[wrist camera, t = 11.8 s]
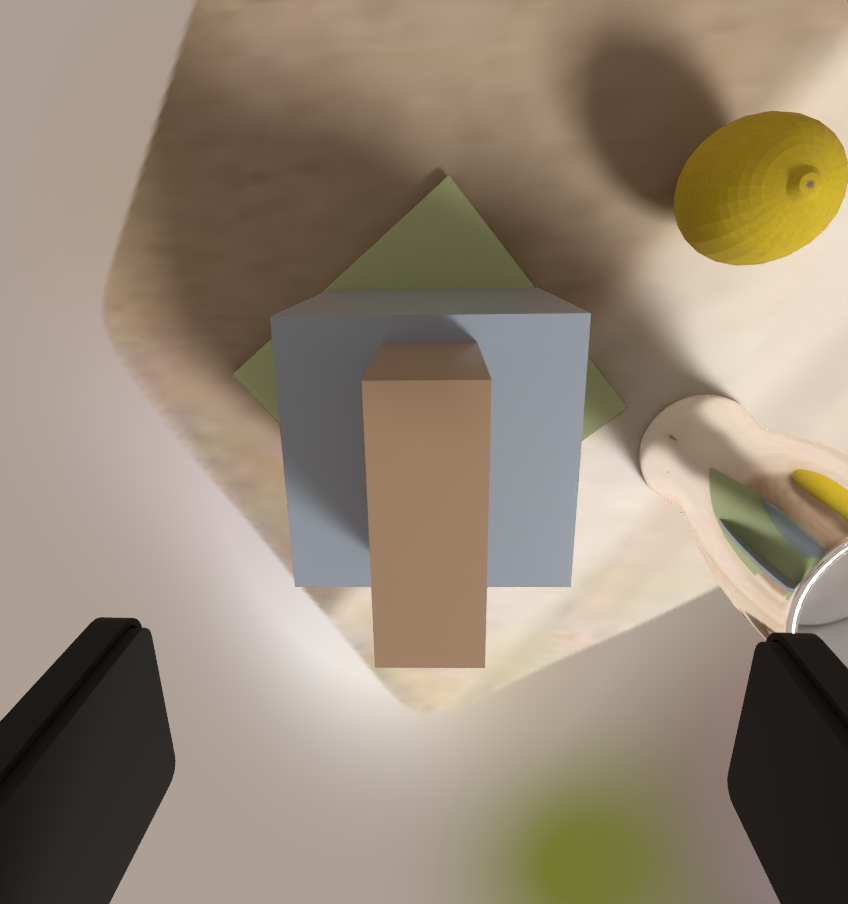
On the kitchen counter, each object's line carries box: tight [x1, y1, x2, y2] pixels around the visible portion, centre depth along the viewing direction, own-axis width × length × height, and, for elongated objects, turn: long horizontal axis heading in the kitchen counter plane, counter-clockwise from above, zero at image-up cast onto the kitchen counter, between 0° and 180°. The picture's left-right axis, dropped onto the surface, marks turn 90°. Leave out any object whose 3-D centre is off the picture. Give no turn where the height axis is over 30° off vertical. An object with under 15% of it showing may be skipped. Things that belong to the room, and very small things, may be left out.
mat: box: [233, 175, 627, 441], centre depth 31 cm, size 14×14×1 cm
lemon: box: [674, 111, 848, 265], centre depth 24 cm, size 6×6×8 cm
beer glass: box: [639, 395, 848, 668], centre depth 25 cm, size 7×7×15 cm
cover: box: [270, 288, 591, 668], centre depth 23 cm, size 10×10×16 cm
